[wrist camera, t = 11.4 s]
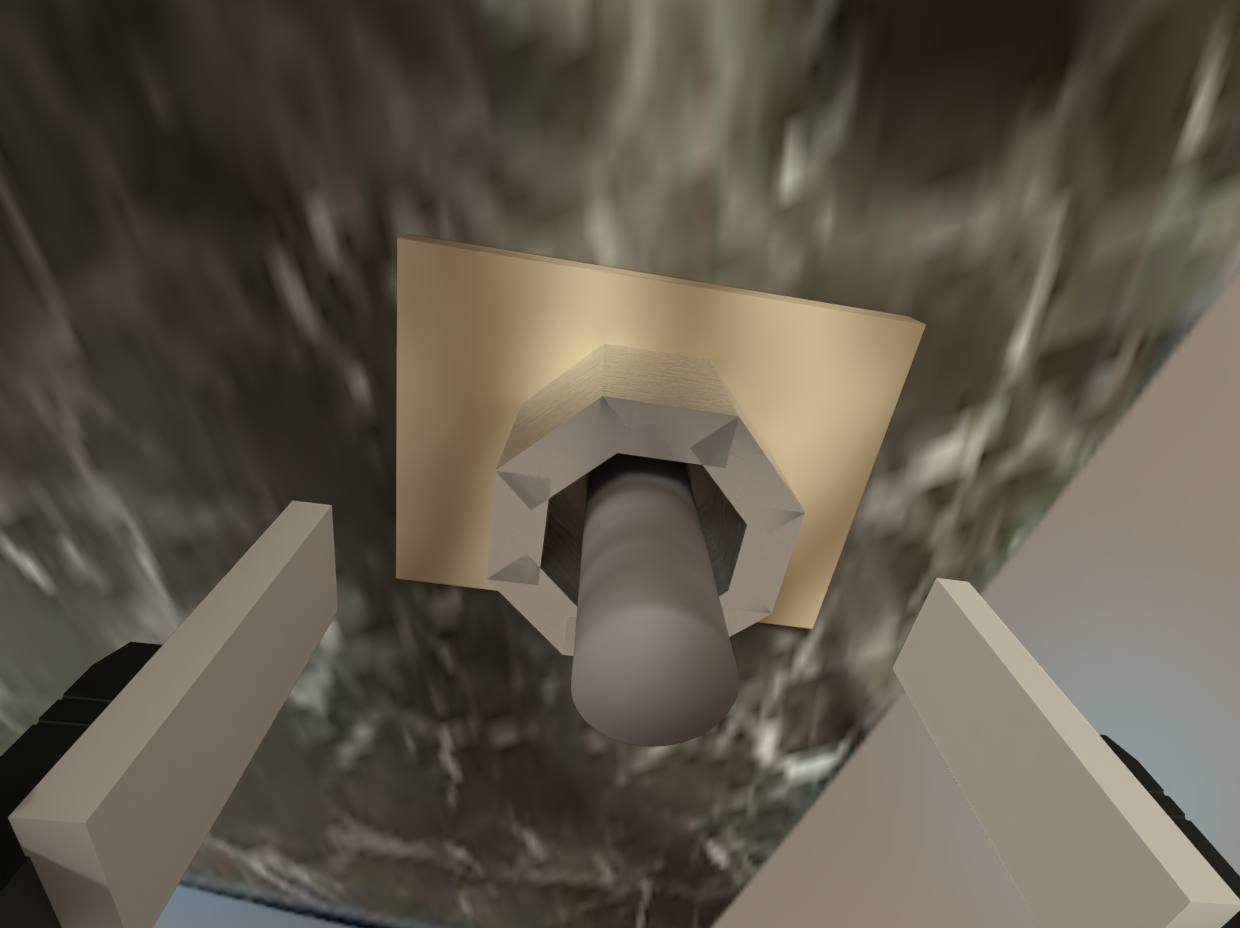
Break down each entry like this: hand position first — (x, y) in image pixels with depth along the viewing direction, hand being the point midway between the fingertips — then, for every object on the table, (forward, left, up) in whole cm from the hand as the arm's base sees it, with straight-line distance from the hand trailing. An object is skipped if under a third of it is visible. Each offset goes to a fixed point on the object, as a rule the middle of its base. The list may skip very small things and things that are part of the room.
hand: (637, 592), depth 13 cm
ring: (0, -1, -8) cm, 8 cm away
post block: (0, 0, -9) cm, 9 cm away
